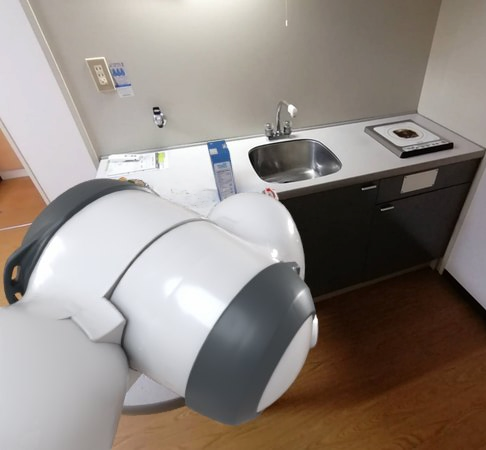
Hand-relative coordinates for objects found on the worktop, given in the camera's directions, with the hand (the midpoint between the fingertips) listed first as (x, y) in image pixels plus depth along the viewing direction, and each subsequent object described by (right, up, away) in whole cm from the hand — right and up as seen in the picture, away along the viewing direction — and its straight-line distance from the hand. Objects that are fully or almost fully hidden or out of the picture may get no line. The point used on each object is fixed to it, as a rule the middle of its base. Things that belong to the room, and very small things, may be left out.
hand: (180, 330), depth 67 cm
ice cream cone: (+17, +23, +35) cm, 45 cm away
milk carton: (-1, +34, +49) cm, 60 cm away
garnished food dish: (-40, +36, +52) cm, 75 cm away
